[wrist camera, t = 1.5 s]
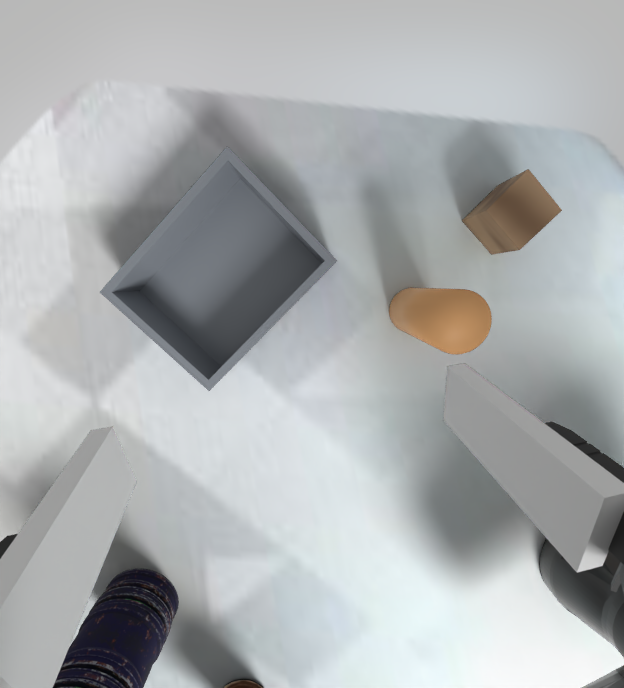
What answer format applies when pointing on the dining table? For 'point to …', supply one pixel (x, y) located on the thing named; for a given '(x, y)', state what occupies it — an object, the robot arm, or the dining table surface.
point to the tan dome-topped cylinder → (442, 317)
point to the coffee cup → (243, 684)
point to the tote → (218, 271)
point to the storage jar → (121, 633)
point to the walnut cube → (512, 214)
